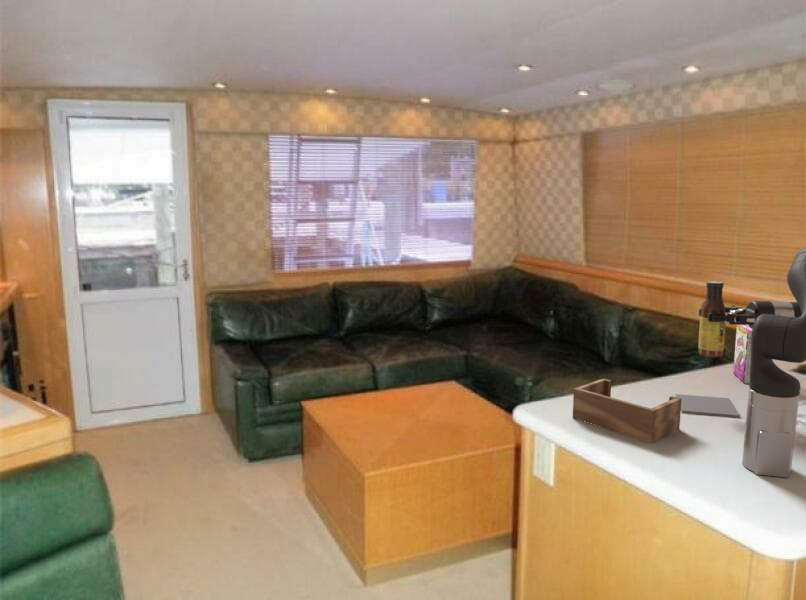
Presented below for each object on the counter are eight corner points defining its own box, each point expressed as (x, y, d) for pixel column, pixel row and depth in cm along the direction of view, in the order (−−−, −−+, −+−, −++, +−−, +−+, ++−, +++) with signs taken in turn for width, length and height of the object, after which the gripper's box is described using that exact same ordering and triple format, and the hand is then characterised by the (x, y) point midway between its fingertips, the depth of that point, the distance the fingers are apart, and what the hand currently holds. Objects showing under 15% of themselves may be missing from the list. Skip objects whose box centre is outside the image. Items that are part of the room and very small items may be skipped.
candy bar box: (731, 373, 205) (736, 323, 202) (748, 374, 204) (753, 323, 201) (742, 383, 195) (747, 331, 192) (760, 384, 194) (765, 331, 191)
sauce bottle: (723, 359, 169) (729, 284, 165) (697, 356, 171) (702, 283, 168) (722, 352, 175) (728, 280, 171) (697, 350, 177) (702, 279, 173)
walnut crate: (601, 406, 176) (603, 378, 175) (679, 429, 160) (681, 398, 158) (572, 417, 168) (573, 388, 166) (651, 443, 151) (653, 411, 150)
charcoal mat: (739, 417, 167) (740, 415, 167) (681, 412, 171) (681, 410, 171) (728, 400, 180) (729, 398, 180) (675, 396, 184) (675, 394, 184)
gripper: (759, 296, 176) (695, 296, 178) (784, 306, 162) (714, 306, 164) (756, 323, 177) (693, 322, 179) (781, 335, 163) (712, 334, 165)
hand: (704, 314), depth 171 cm, fingers closed on sauce bottle, 6 cm apart
